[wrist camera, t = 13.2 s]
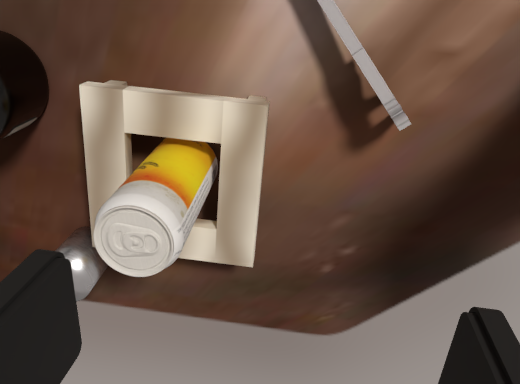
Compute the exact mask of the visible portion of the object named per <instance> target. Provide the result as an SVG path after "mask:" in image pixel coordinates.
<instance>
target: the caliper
mask: <svg viewBox="0 0 520 384" xmlns="http://www.w3.org/2000/svg"><path fill="white" fill-rule="evenodd" d="M317 1H318V2H319V4H320V6H321V7H322V9H323V10H324V12H325V14H326V15H327V17H328V18H329V20H330V21H331V23H332V25H333V26H334V28H335V29H336V31H337V32H338V34H339V36H340V37H341V39H342V40H343V42H344V44H345V45H346V47H347V48H348V50H349V51H350V53H351V55H352V56H353V58H354V59H355V61H356V63H357V64H358V66H359V67H360V69H361V70H362V72H363V74H364V75H365V77H366V78H367V80H368V82H369V83H370V85H371V86H372V88H373V89H374V91H375V93H376V94H377V96H378V97H379V99H380V101H381V102H382V104H383V105H384V107H385V108H386V110H387V112H388V113H389V115H390V116H391V118H392V120H393V121H394V123H395V124H396V126H397V127H398V129H399V131H401V130H402V129H404V128H406V127H407V126H409V125H411V123H410V121H409V120H408V117H407V116H406V114H405V113H404V112H403V110H402V108H401V106H400V104H399V103H398V102H397V101H396V99H395V97H394V96H393V94H392V92H391V91H390V89H389V88H388V86H387V84H386V83H385V81H384V80H383V78H382V76H381V75H380V73H379V72H378V70H377V68H376V67H375V65H374V64H373V62H372V60H371V59H370V57H369V56H368V54H367V53H366V51H365V49H364V48H363V46H362V45H361V43H360V42H359V40H358V38H357V37H356V35H355V34H354V32H353V31H352V29H351V27H350V26H349V24H348V23H347V21H346V19H345V18H344V16H343V15H342V13H341V11H340V10H339V8H338V7H337V5H336V3H335V2H334V0H317Z"/></svg>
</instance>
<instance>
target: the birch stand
mask: <svg viewBox="0 0 520 384" xmlns="http://www.w3.org/2000/svg"><path fill="white" fill-rule="evenodd" d="M79 90H80V102H81V114H82V126H83V138H84V150H85V162H86V174H87V187H88V199H89V211H90V223H91V235H92V247H95V244H94V238H93V234H94V228H95V219H96V216H97V213H98V211H99V209H100V208H101V207H102V205H103V204H104V203H105V202H106V201H107V200H108V199H109V198H110V197H111V196H112V195H113V194H114V192H115V191H116V190H117V189H118V188H119V187H120V186H121V185H122V184H123V183H124V182H125V181H126V180H127V178H128V177H129V176H130V175H131V174H132V146H131V133H132V134H141V135H150V136H158V137H167V138H176V139H184V140H193V141H202V142H211V143H219V144H221V155H220V174H219V192H218V211H217V221H212V220H204V219H196V221H195V223H194V225H193V227H192V229H191V232H190V234H189V236H188V238H187V240H186V242H185V244H184V247H183V249H182V251H181V253H180V255H179V257H178V258H183V259H191V260H199V261H207V262H214V263H222V264H230V265H238V266H246V267H253V262H254V256H255V245H256V235H257V225H258V215H259V205H260V195H261V184H262V174H263V164H264V154H265V144H266V133H267V123H268V113H269V103H270V101H266V97H261V96H252V95H249V97H248V99H243V98H234V97H225V96H216V95H207V94H198V93H189V92H180V91H171V90H161V89H152V88H143V87H134V86H127V82H124V81H114V80H110V81H108V82H106V83H98V82H89V81H87V82H85V83H83V84H80V85H79Z"/></svg>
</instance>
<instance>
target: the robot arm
mask: <svg viewBox="0 0 520 384" xmlns="http://www.w3.org/2000/svg"><path fill="white" fill-rule="evenodd" d="M81 344H82V342H81V334H80V326H79V319H78V312H77V305H76V297H75V290H74V282H73V275H72V268H71V263H70V261H69V260H68V259H65V256H64V254H63V253H61V252H57V251H49V250H42V249H38V250H36V251H34V252H33V253H32V254H31V255H30V256H28V257H27V258H26V259H25V260H24V261H23V262H22V263H21V264H20V265H19V266H18V267H17V268H15V269H14V270H13V271H12V272H11V273H10V274H9V275H8V276H7V277H6V278H5V279H4V280H2V281H1V282H0V384H60V383H61V381H62V380H63V378H64V377H65V375H66V374H67V372H68V371H69V369H70V368H71V366H72V365H73V363H74V361H75V360H76V359H77V357H78V355H79V353H80V350H81ZM438 384H520V344H519V342H518V340H517V338H516V336H515V335H514V333H513V331H512V329H511V327H510V325H509V323H508V322H507V320H506V318H505V316H504V314H503V313H502V312H501V311H499V310H494V309H486V308H479V307H473V308H471V309H470V311H469V313H467V312H463V313H462V314H461V316H460V319H459V322H458V325H457V328H456V331H455V335H454V338H453V340H452V343H451V346H450V349H449V352H448V355H447V358H446V361H445V364H444V368H443V370H442V374H441V377H440V380H439V383H438Z"/></svg>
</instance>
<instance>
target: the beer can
mask: <svg viewBox="0 0 520 384" xmlns="http://www.w3.org/2000/svg"><path fill="white" fill-rule="evenodd" d="M217 171H218V163H217V158H216V156H215V153H214V152H213V150H212V148H211V147H210V146H209V145H208V144H207V143H206V142H202V141H193V140H184V139H176V138H165V139H164V140H163V141H162V142H161V143H160V144H159V145H158V146H157V147H156V148H155V149H154V150H153V151H152V152H151V154H150V155H149V156H148V157H147V158H146V159H145V160H144V161H143V162H142V163H141V164H140V165H139V167H138V168H137V169H136V170H135V171H134V172H133V173H132V174H131V175H130V176H129V177H128V178H127V180H126V181H125V182H124V183H123V184H122V185H121V186H120V187H119V188H118V189H117V190H116V191H115V192H114V194H113V195H112V196H111V197H110V198H109V199H108V200H107V201H106V202H105V203H104V204H103V205H102V207H101V208H100V209H99V211H98V213H97V216H96V219H95V228H94V234H93V238H94V244H95V247H96V250H97V252H98V254H99V255H100V257H101V258H102V259H103V260H104V261H105V263H107V264H108V265H109V266H110V267H111V268H113V269H114V270H116V271H118V272H120V273H122V274H125V275H128V276H133V277H147V276H151V275H154V274H157V273H159V272H160V271H162V270H163V269H165V268H167V267H168V266H170V265H171V264H172V263H174V262H175V261H176V259H177V258H178V257H179V255H180V253H181V251H182V249H183V247H184V244H185V242H186V240H187V238H188V236H189V234H190V232H191V229H192V227H193V225H194V223H195V221H196V219H197V217H198V214H199V212H200V210H201V208H202V206H203V204H204V202H205V199H206V197H207V195H208V193H209V191H210V189H211V187H212V185H213V182H214V180H215V178H216V175H217Z"/></svg>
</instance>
